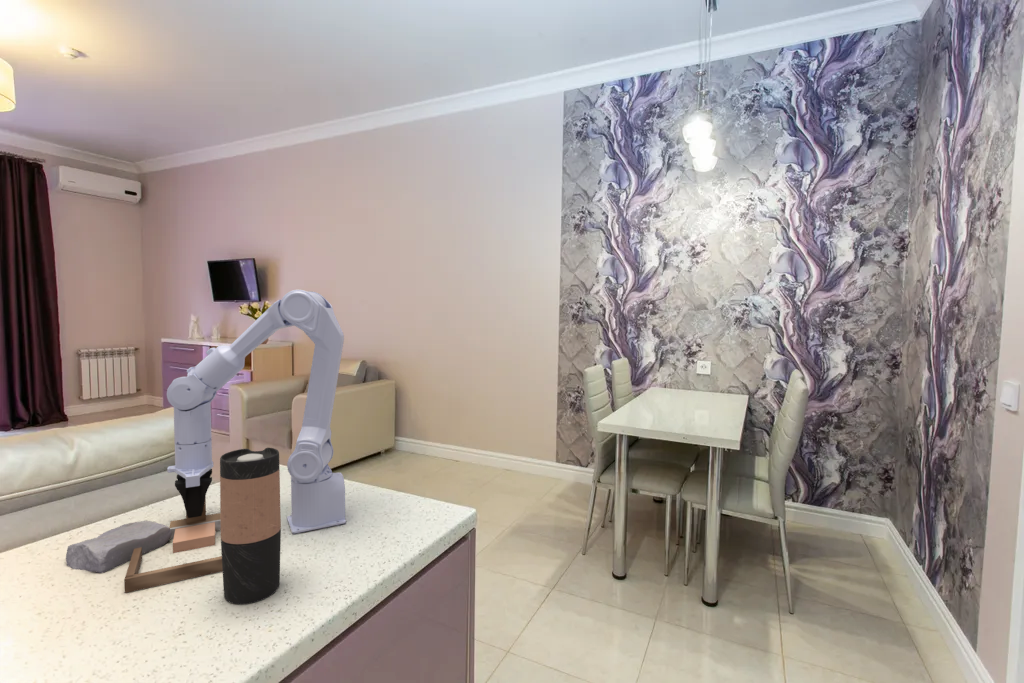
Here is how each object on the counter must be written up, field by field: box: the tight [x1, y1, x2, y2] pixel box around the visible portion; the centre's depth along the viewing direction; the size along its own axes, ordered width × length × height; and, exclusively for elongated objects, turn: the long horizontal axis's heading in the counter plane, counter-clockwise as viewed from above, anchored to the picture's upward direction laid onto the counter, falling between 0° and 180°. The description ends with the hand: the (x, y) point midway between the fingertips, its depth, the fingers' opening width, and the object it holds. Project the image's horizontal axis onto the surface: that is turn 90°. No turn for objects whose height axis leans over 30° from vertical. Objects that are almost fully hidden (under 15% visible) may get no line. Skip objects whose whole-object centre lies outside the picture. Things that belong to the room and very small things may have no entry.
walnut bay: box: [123, 547, 223, 594], centre depth 79 cm, size 16×10×2 cm, turn 121°
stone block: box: [65, 520, 171, 574], centre depth 82 cm, size 12×5×10 cm
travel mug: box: [219, 447, 282, 605], centre depth 71 cm, size 8×8×20 cm
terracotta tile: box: [172, 522, 216, 554], centre depth 86 cm, size 6×6×2 cm
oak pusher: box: [168, 496, 221, 540], centre depth 90 cm, size 8×5×6 cm, turn 121°
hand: (195, 513), depth 91 cm, fingers closed on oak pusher, 2 cm apart
